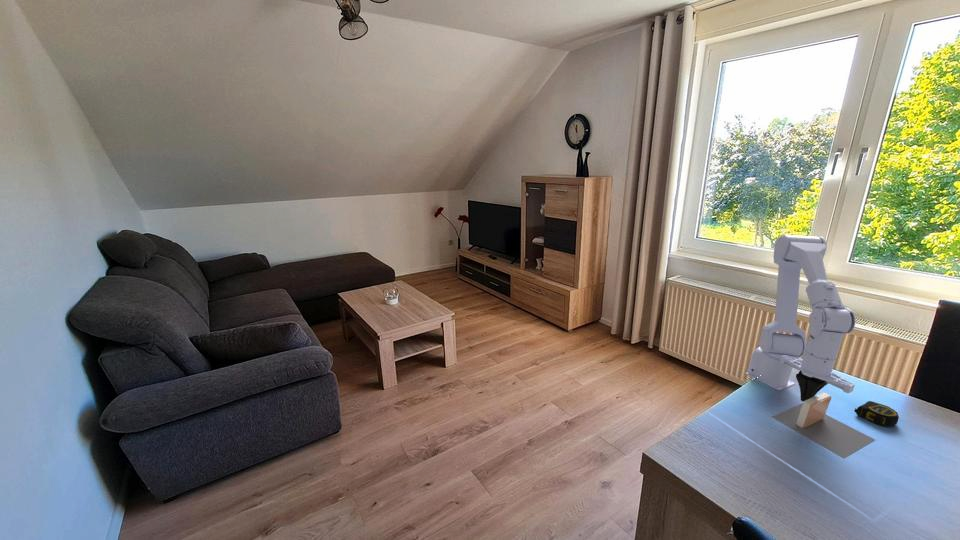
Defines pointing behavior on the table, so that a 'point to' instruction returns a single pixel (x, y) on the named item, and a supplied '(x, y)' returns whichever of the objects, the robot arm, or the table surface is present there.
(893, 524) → the table surface
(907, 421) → the table surface
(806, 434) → the mat
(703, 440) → the table surface
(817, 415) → the cream rectangular panel
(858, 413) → the tape measure
